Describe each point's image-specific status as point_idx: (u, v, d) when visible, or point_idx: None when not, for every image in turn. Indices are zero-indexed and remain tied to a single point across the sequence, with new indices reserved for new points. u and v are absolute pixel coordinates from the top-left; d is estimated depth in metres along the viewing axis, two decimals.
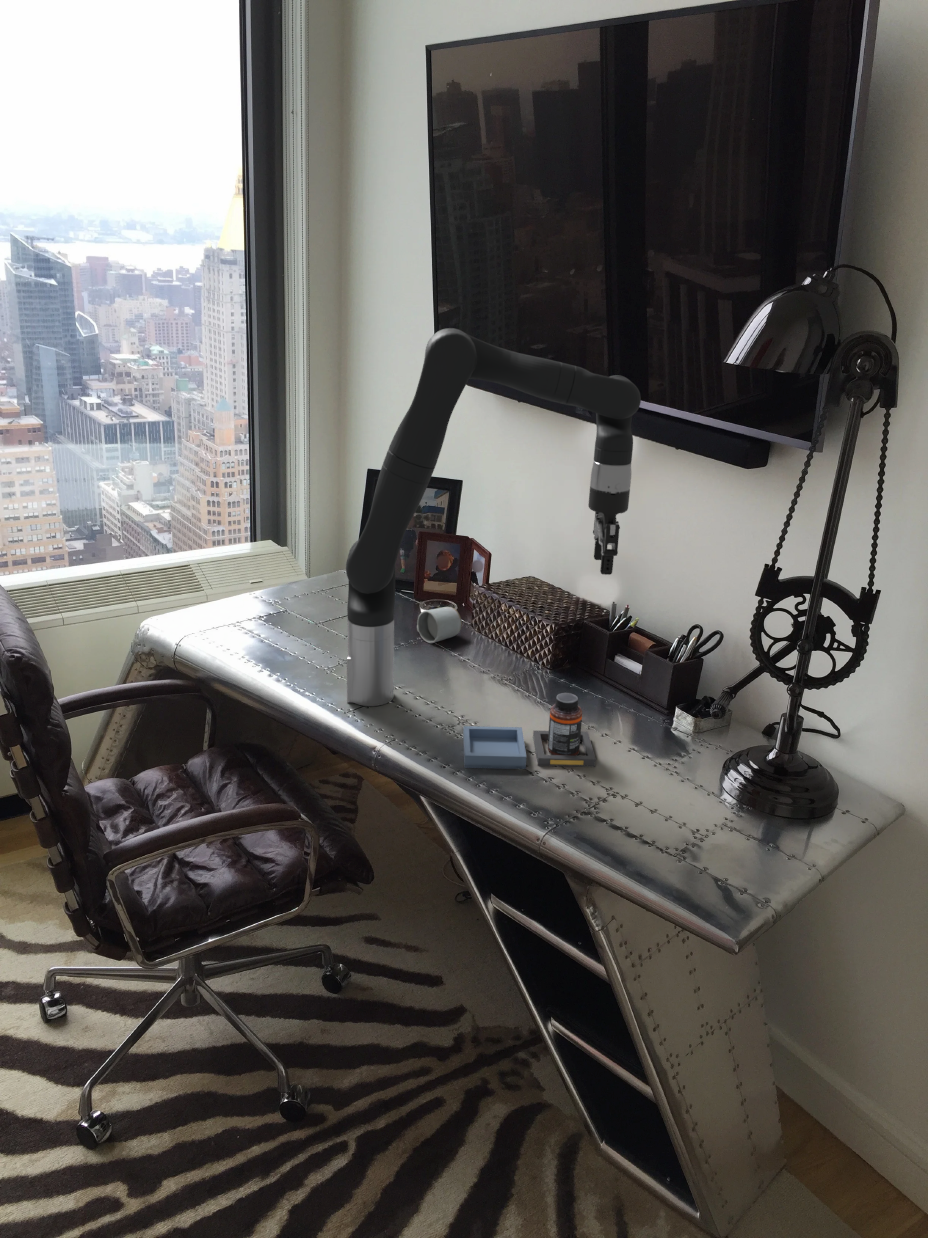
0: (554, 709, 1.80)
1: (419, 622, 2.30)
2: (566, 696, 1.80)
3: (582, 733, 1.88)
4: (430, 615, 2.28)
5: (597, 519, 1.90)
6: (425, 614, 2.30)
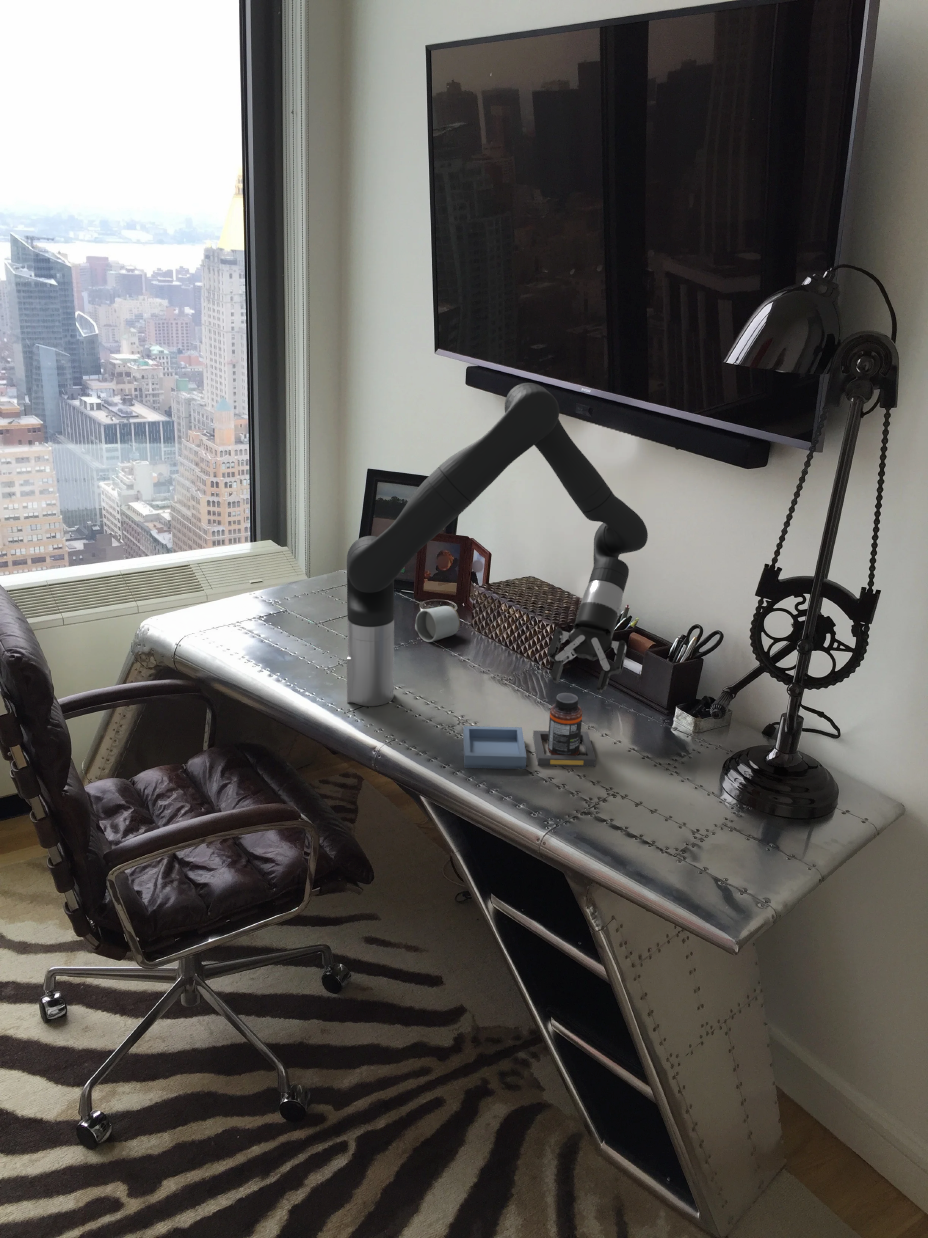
0: (554, 709, 1.80)
1: (417, 621, 2.31)
2: (566, 696, 1.80)
3: (582, 733, 1.88)
4: (428, 614, 2.29)
5: (584, 637, 1.87)
6: (423, 613, 2.31)
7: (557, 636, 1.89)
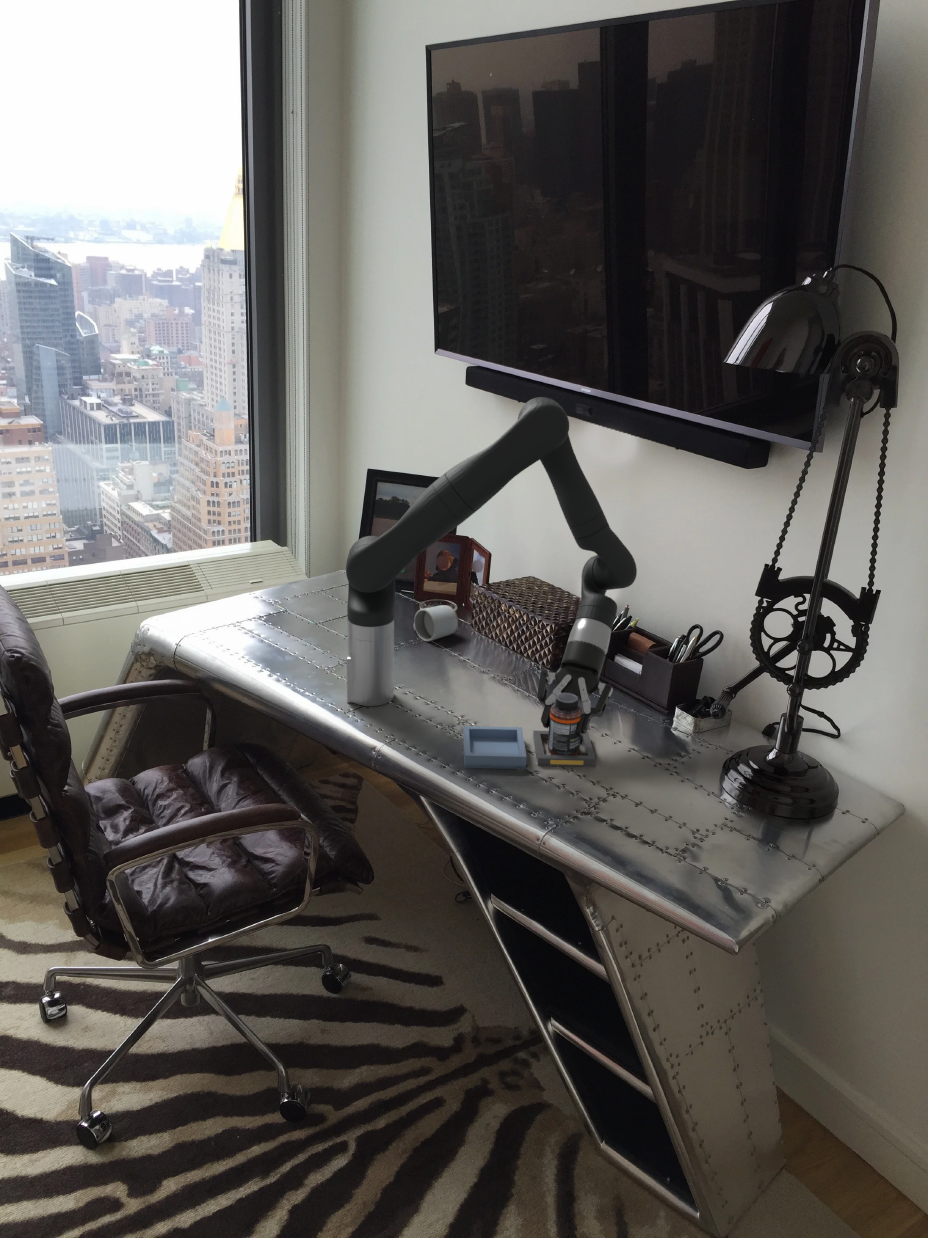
0: (554, 709, 1.80)
1: (416, 620, 2.31)
2: (566, 696, 1.80)
3: None
4: (427, 613, 2.29)
5: (571, 676, 1.83)
6: (422, 612, 2.31)
7: (544, 678, 1.84)
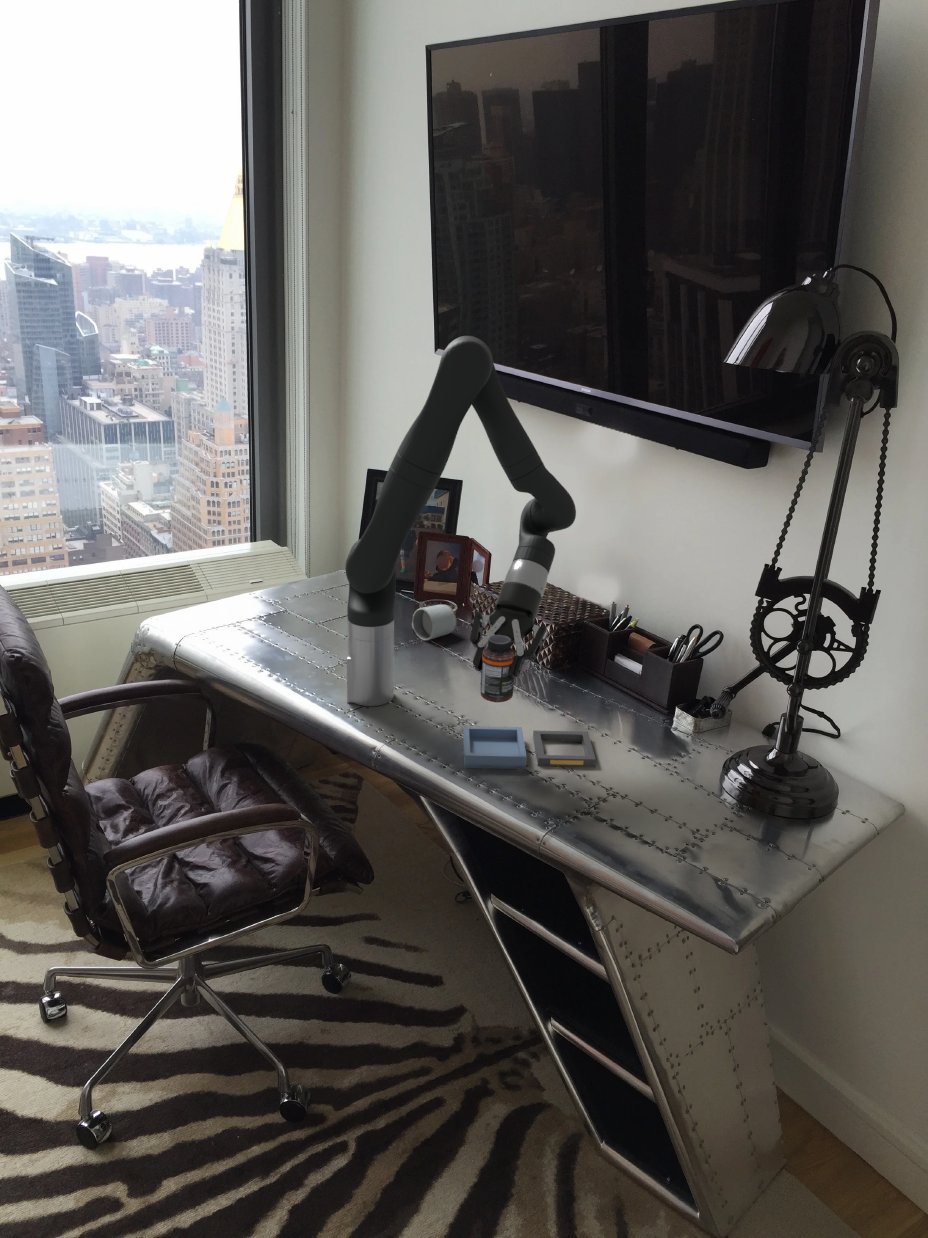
0: (486, 651, 1.74)
1: (414, 619, 2.32)
2: (498, 638, 1.74)
3: (582, 733, 1.88)
4: (425, 612, 2.30)
5: (505, 618, 1.77)
6: (420, 612, 2.31)
7: (477, 620, 1.79)
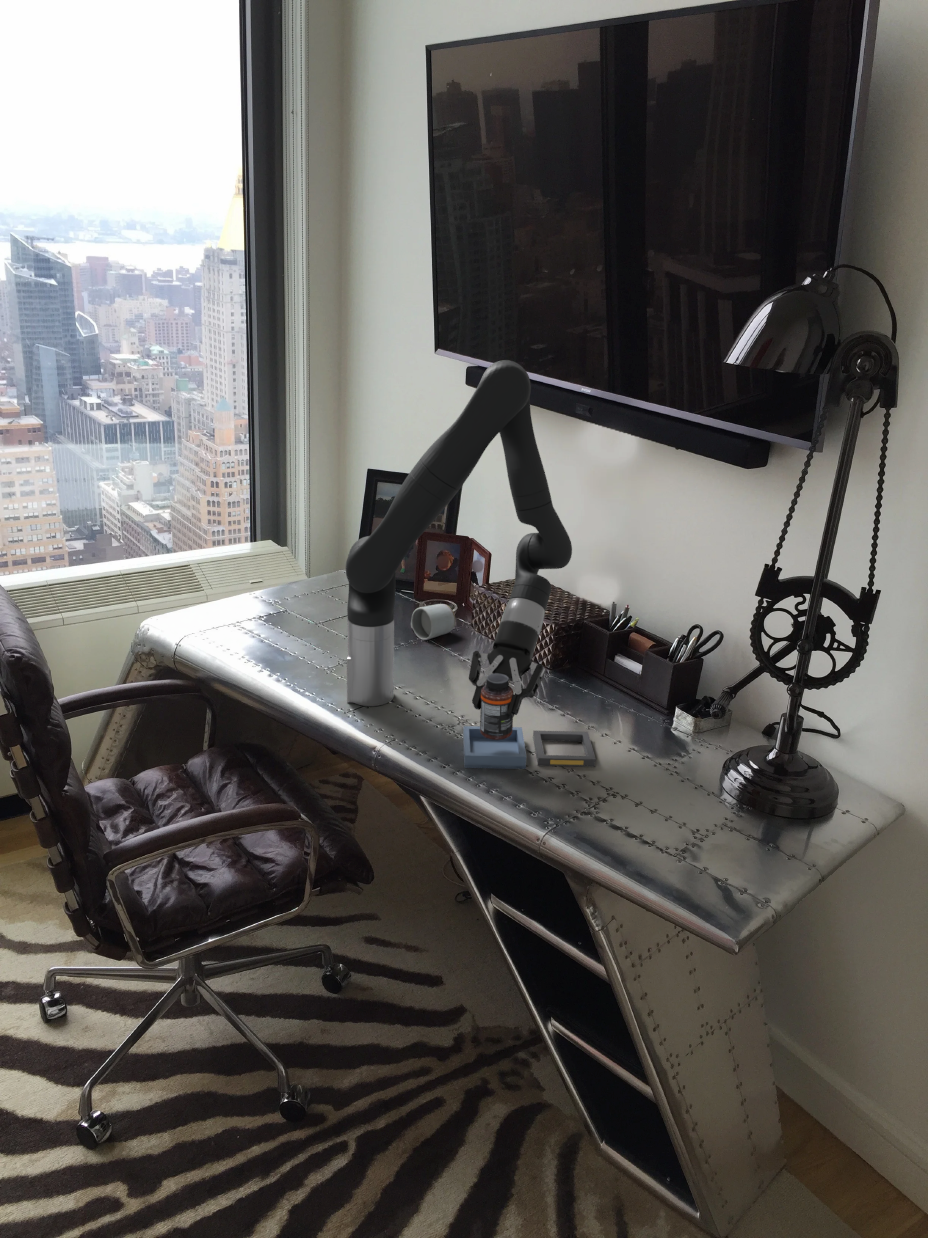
0: (484, 690, 1.77)
1: (413, 619, 2.32)
2: (496, 677, 1.77)
3: (582, 733, 1.88)
4: (424, 612, 2.30)
5: (502, 657, 1.80)
6: (419, 611, 2.32)
7: (476, 659, 1.82)
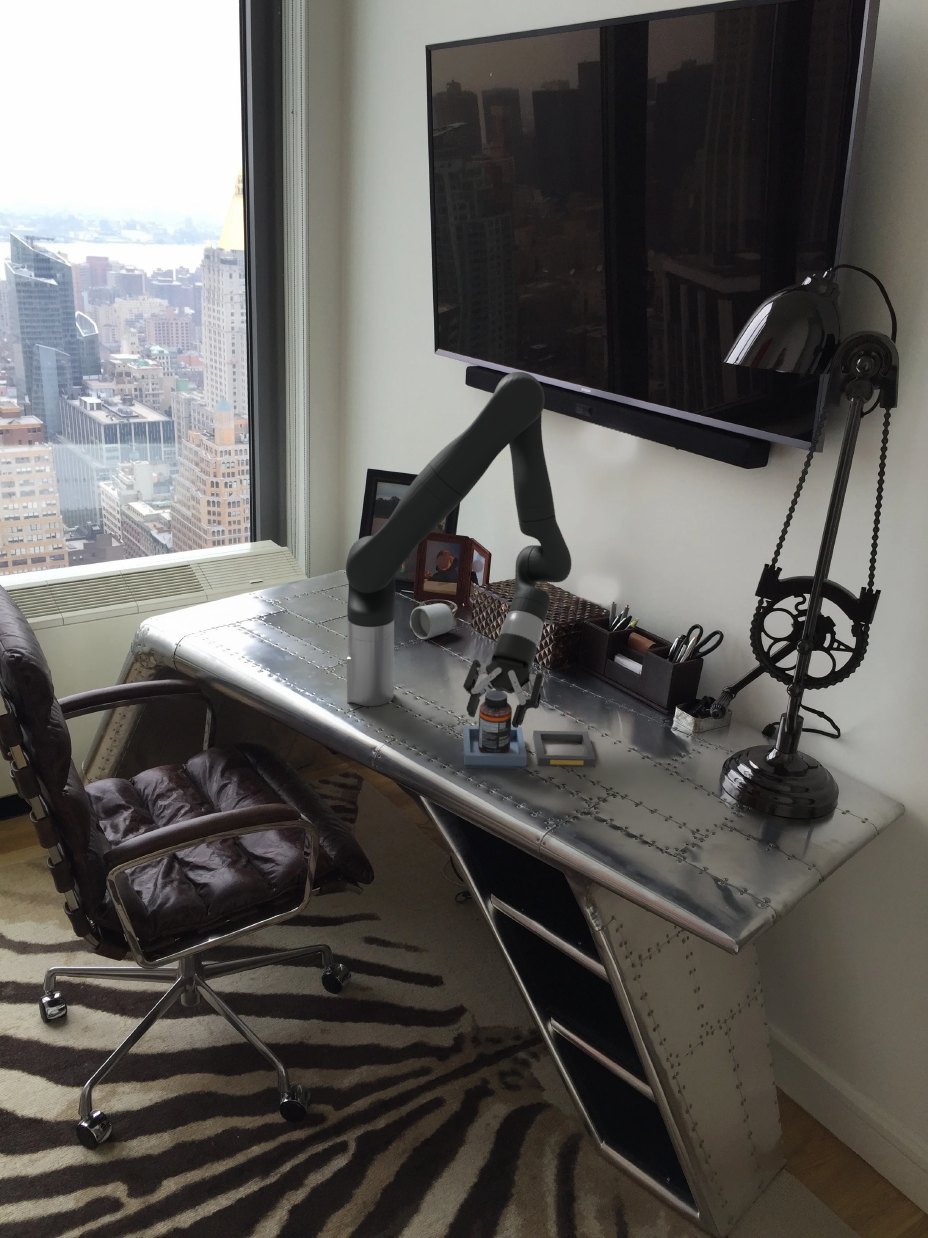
0: (483, 707, 1.78)
1: (412, 618, 2.32)
2: (495, 694, 1.78)
3: (582, 733, 1.88)
4: (423, 611, 2.30)
5: (501, 670, 1.81)
6: (418, 610, 2.32)
7: (474, 668, 1.83)
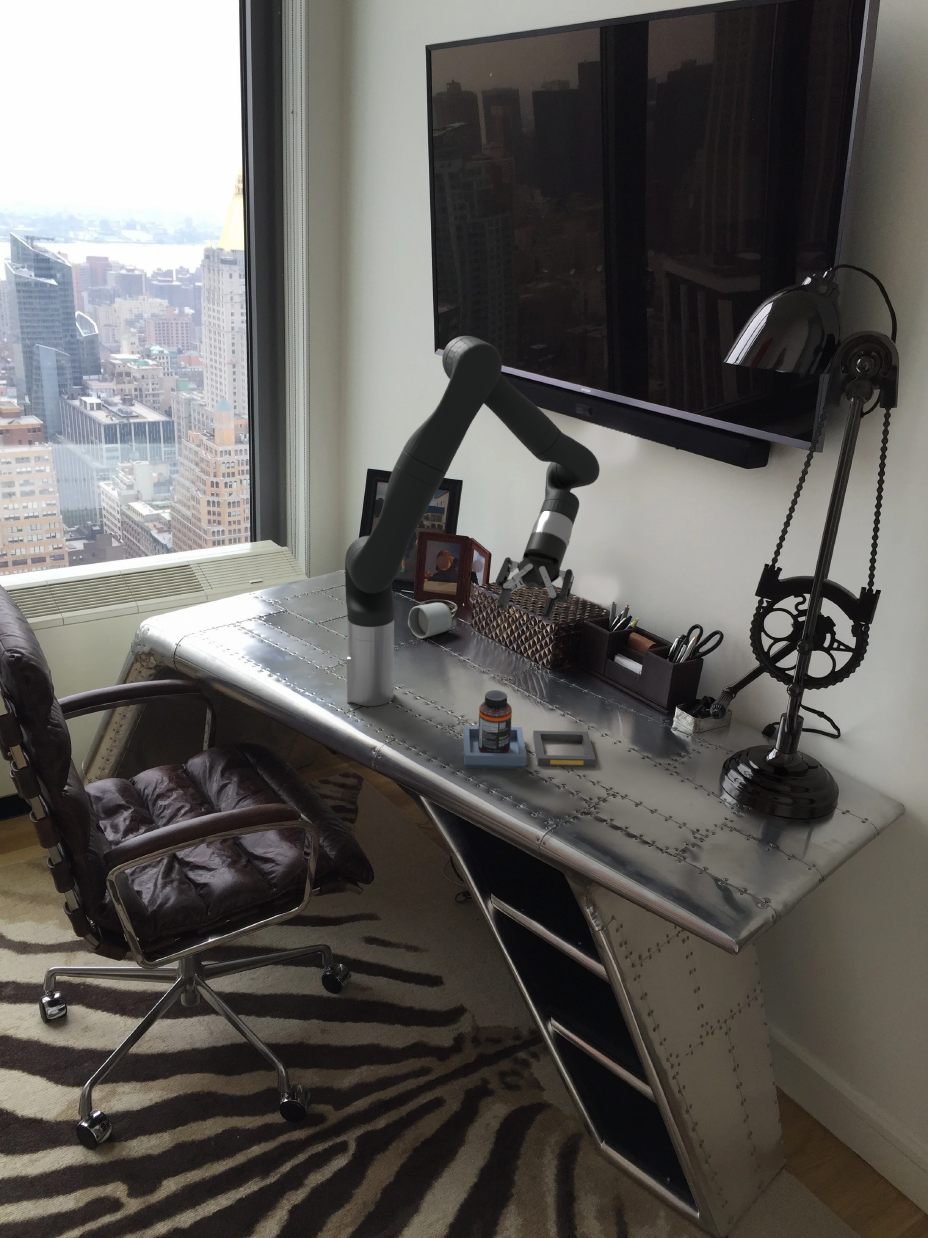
0: (483, 707, 1.78)
1: (410, 618, 2.33)
2: (495, 694, 1.78)
3: (582, 733, 1.88)
4: (421, 611, 2.31)
5: (532, 566, 1.89)
6: (416, 610, 2.32)
7: (506, 565, 1.91)
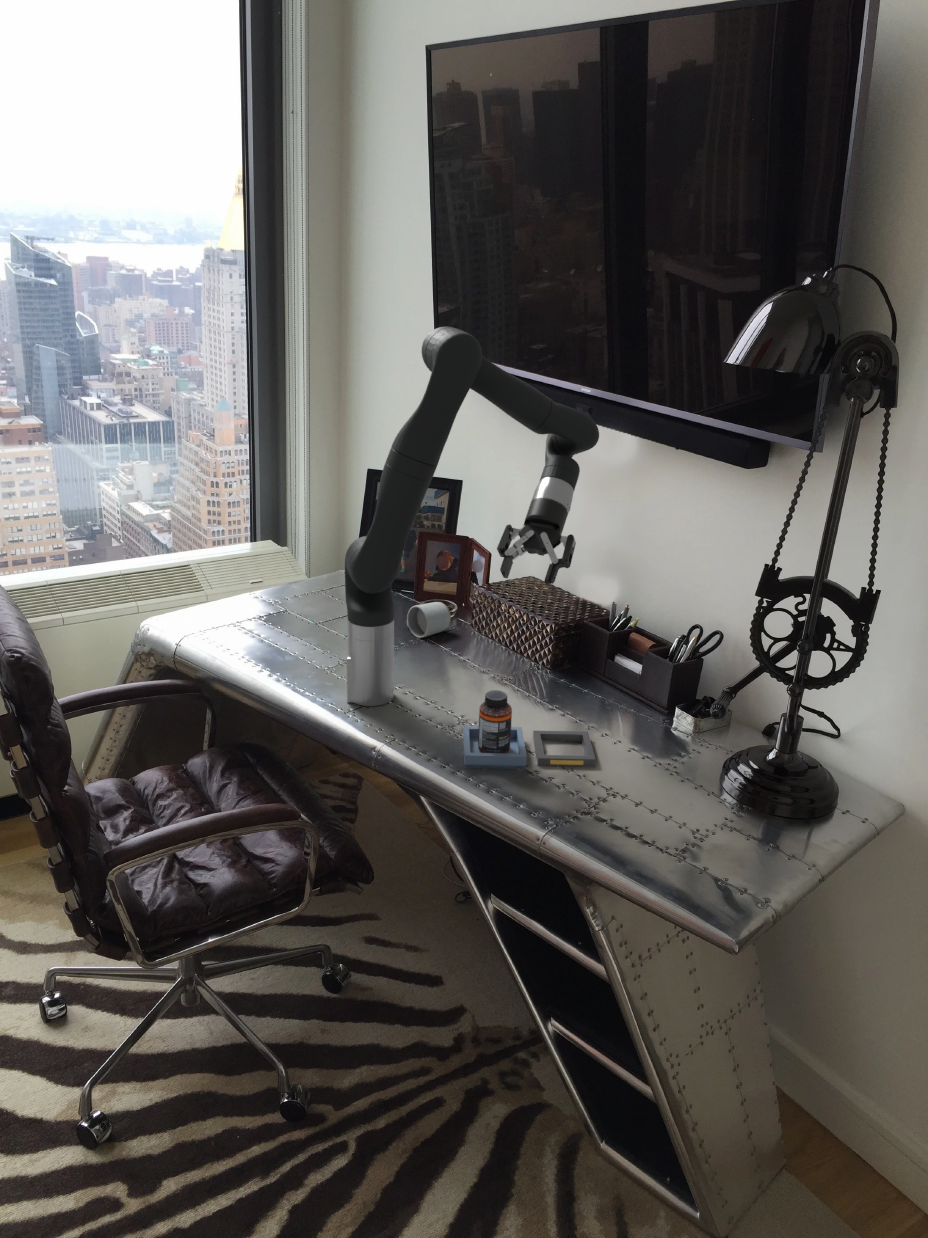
0: (483, 707, 1.78)
1: (409, 617, 2.33)
2: (495, 694, 1.78)
3: (582, 733, 1.88)
4: (420, 610, 2.31)
5: (534, 532, 1.88)
6: (415, 609, 2.33)
7: (507, 532, 1.90)
